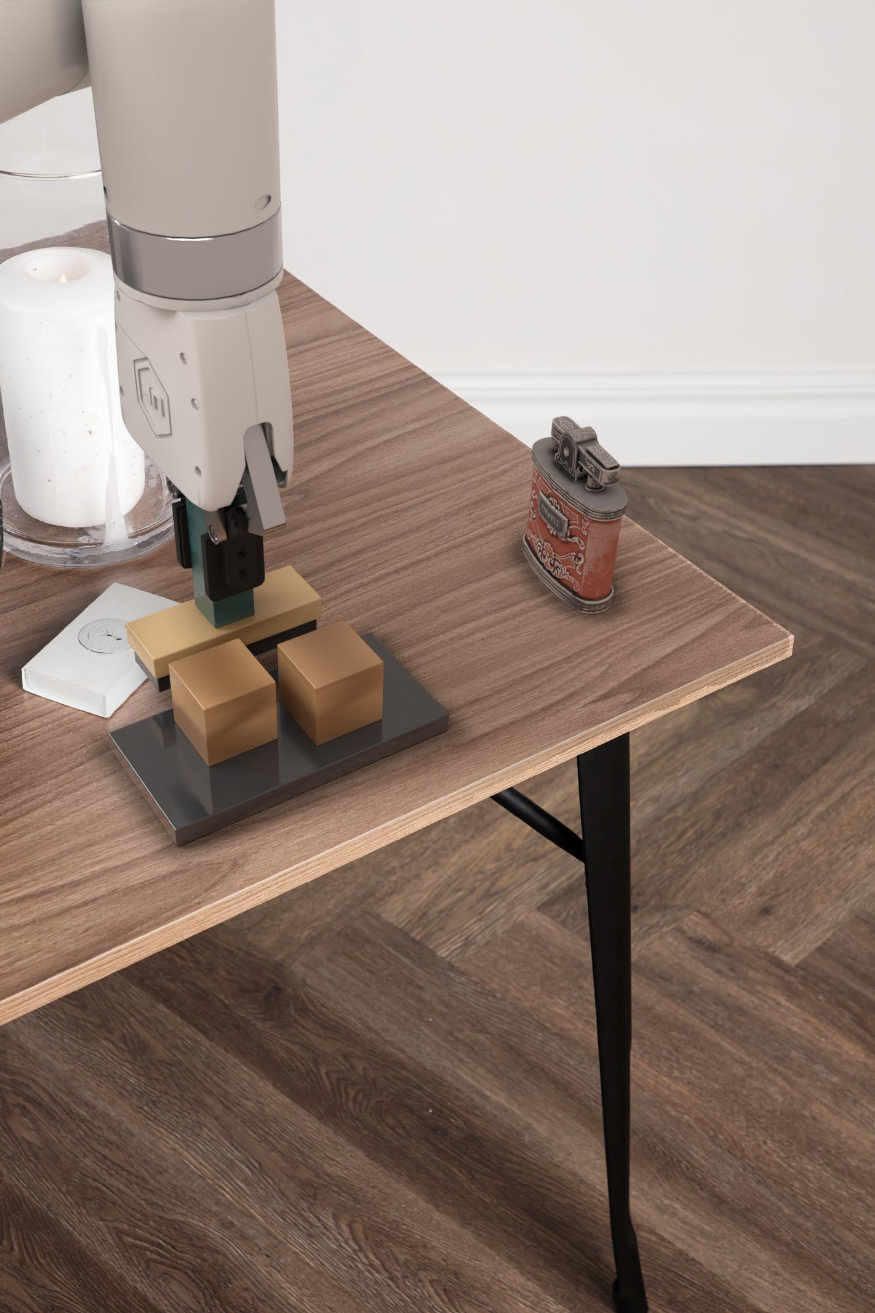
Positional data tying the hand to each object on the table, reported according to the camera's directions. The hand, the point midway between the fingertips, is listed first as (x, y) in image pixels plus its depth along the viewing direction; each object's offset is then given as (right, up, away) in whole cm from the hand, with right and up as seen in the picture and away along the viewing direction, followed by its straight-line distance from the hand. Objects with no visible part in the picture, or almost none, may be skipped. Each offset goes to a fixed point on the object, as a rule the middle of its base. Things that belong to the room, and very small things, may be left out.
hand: (221, 572), depth 74 cm
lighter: (+19, 0, +13) cm, 23 cm away
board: (+3, -9, +1) cm, 9 cm away
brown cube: (+6, -7, +1) cm, 9 cm away
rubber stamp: (0, -4, +3) cm, 5 cm away
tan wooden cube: (0, -8, -1) cm, 8 cm away
